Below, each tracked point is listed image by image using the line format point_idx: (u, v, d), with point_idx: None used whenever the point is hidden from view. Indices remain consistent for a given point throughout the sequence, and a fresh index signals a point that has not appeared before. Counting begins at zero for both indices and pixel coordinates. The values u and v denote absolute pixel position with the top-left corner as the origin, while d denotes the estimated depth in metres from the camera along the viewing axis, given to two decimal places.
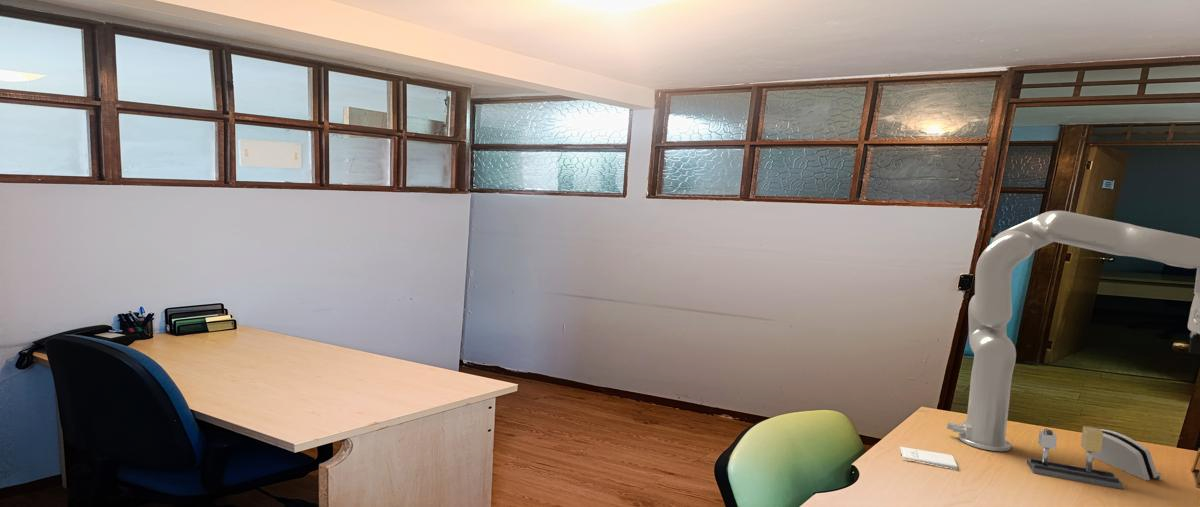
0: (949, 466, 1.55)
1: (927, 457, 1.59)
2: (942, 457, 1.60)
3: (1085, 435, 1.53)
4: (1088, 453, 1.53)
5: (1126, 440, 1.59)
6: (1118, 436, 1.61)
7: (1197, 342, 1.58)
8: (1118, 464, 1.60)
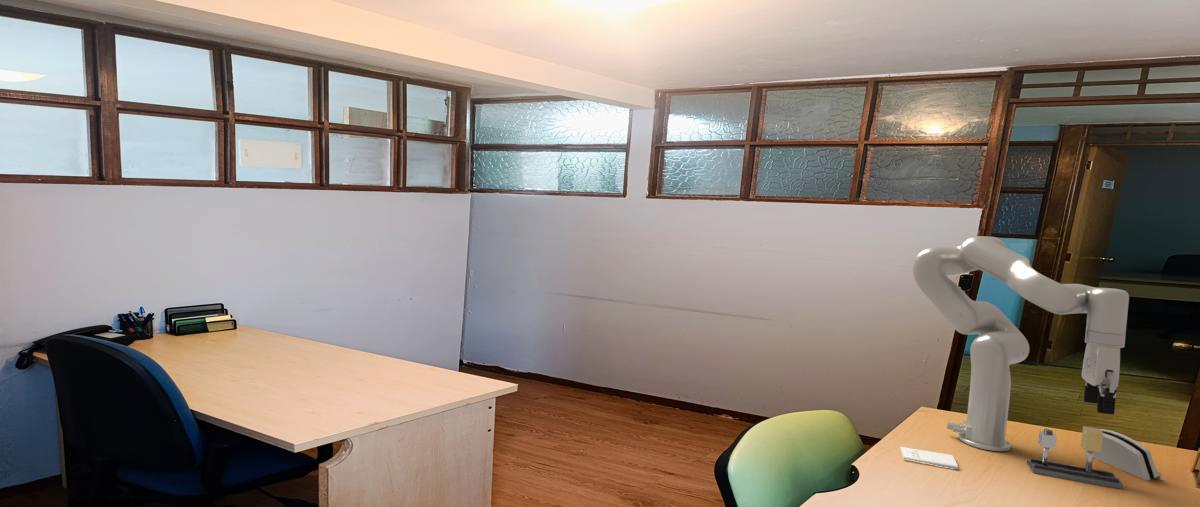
0: (950, 466, 1.55)
1: (927, 457, 1.59)
2: (942, 457, 1.59)
3: (1085, 435, 1.53)
4: (1088, 453, 1.53)
5: (1126, 440, 1.59)
6: (1118, 436, 1.61)
7: (1091, 391, 1.56)
8: (1119, 464, 1.60)
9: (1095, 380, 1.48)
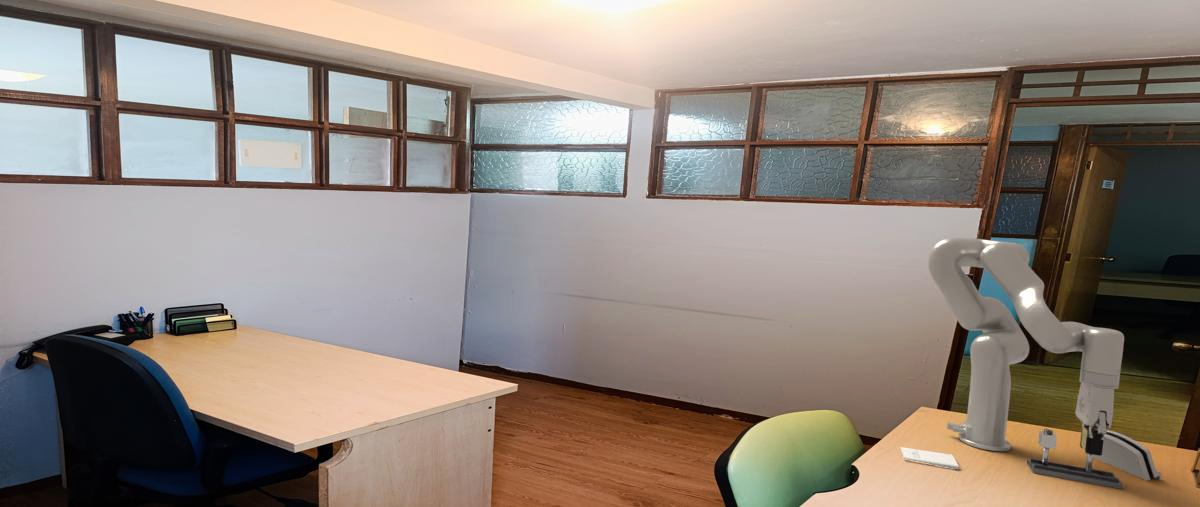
0: (950, 466, 1.55)
1: (928, 458, 1.59)
2: (942, 457, 1.59)
3: (1085, 435, 1.53)
4: None
5: (1126, 440, 1.59)
6: (1118, 436, 1.61)
7: None
8: (1118, 464, 1.60)
9: (1089, 420, 1.49)
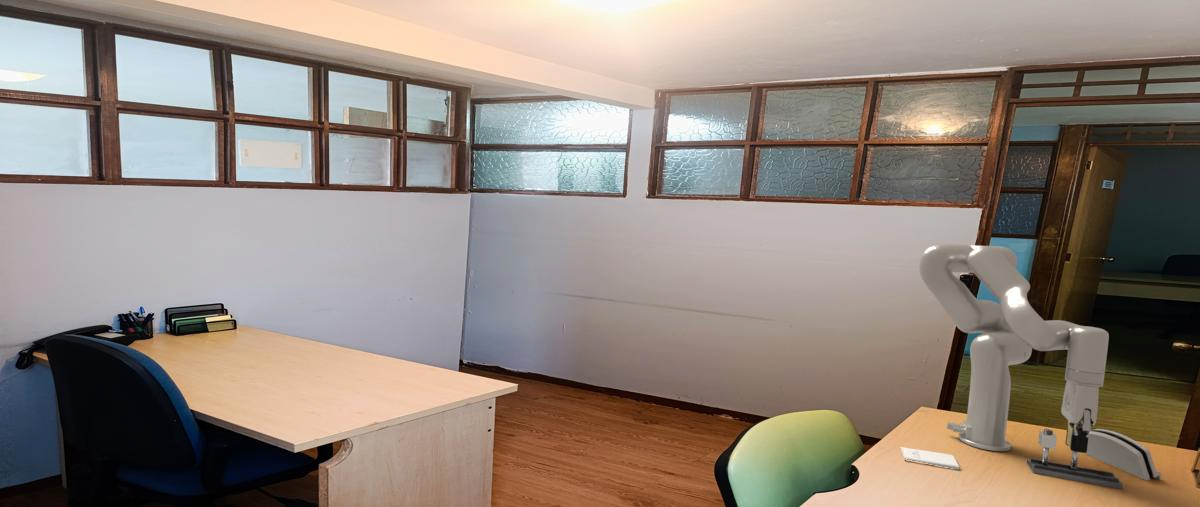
0: (951, 466, 1.55)
1: (928, 458, 1.58)
2: (942, 457, 1.59)
3: (1070, 433, 1.54)
4: (1073, 451, 1.54)
5: (1126, 440, 1.59)
6: (1118, 436, 1.61)
7: None
8: (1118, 464, 1.60)
9: (1073, 418, 1.50)
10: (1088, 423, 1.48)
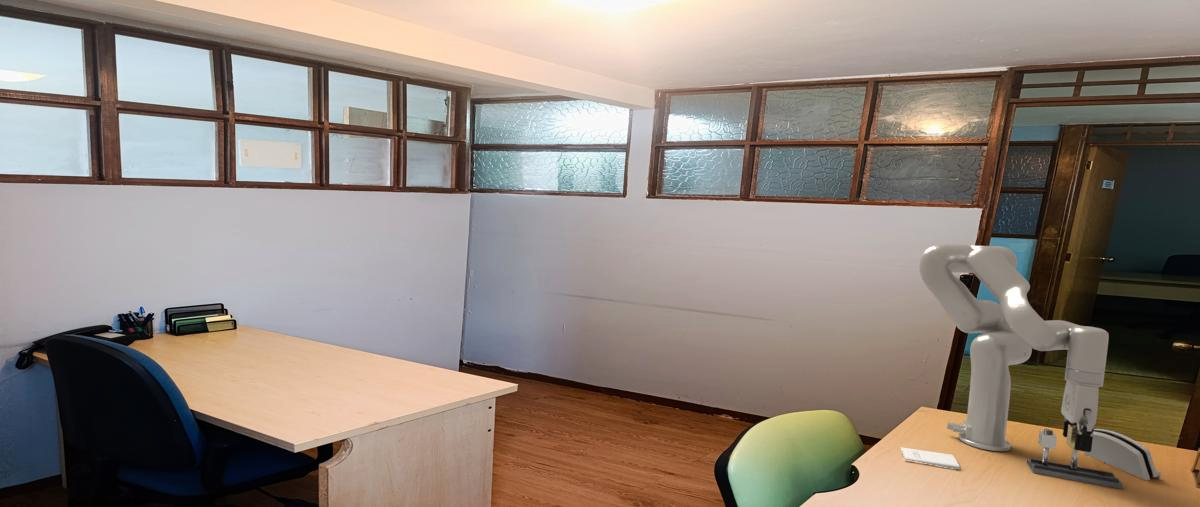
0: (951, 466, 1.55)
1: (928, 458, 1.58)
2: (943, 457, 1.59)
3: (1070, 433, 1.54)
4: (1073, 451, 1.54)
5: (1126, 440, 1.59)
6: (1117, 436, 1.61)
7: None
8: (1118, 464, 1.60)
9: (1073, 418, 1.50)
10: (1089, 413, 1.48)
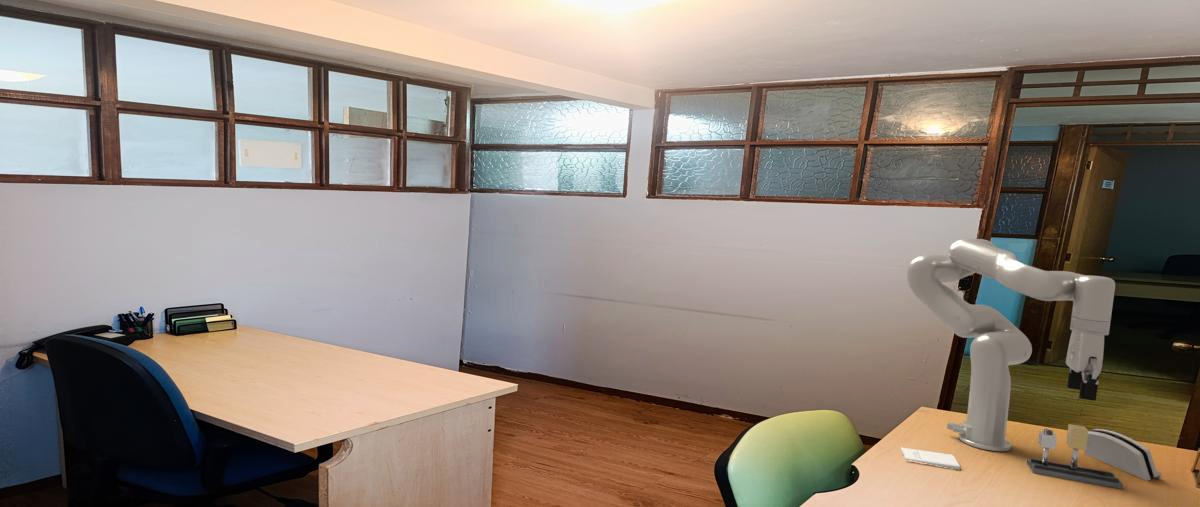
0: (952, 466, 1.55)
1: (929, 458, 1.58)
2: (943, 457, 1.59)
3: (1070, 433, 1.54)
4: (1073, 451, 1.54)
5: (1126, 440, 1.59)
6: (1118, 436, 1.61)
7: (1075, 377, 1.57)
8: (1118, 464, 1.60)
9: (1078, 366, 1.49)
10: (1095, 361, 1.47)
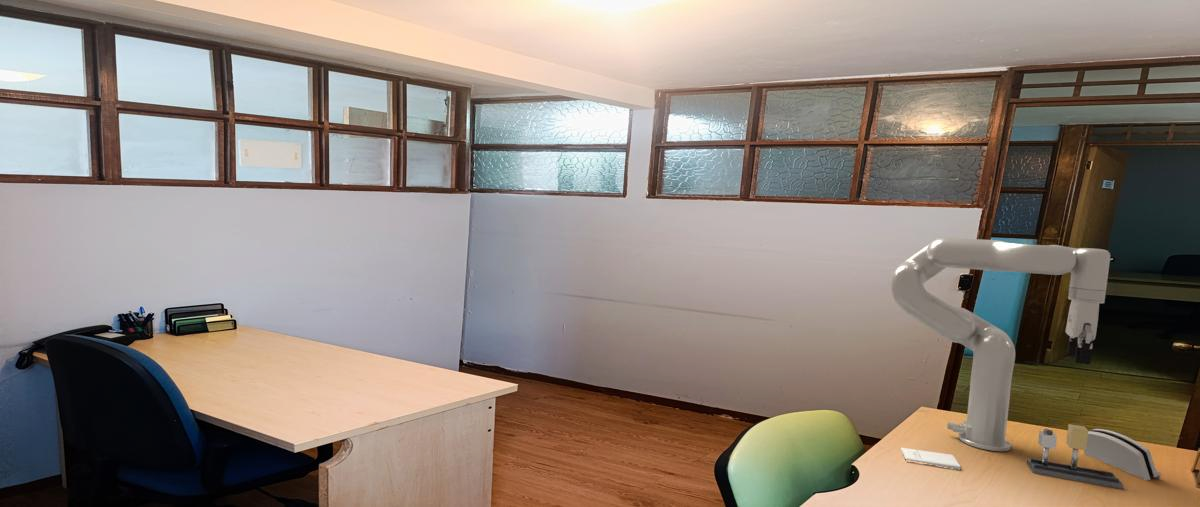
0: (952, 466, 1.55)
1: (929, 458, 1.58)
2: (943, 457, 1.59)
3: (1070, 433, 1.54)
4: (1073, 451, 1.54)
5: (1126, 440, 1.59)
6: (1118, 436, 1.61)
7: (1074, 345, 1.67)
8: (1118, 464, 1.60)
9: (1074, 332, 1.59)
10: (1089, 327, 1.57)
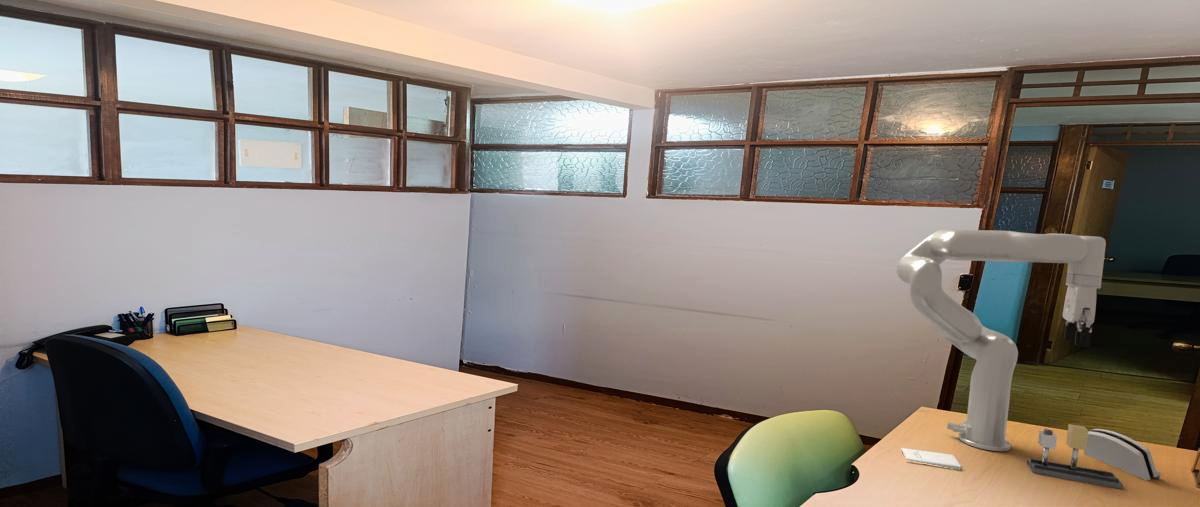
0: (953, 466, 1.55)
1: (929, 458, 1.58)
2: (943, 457, 1.59)
3: (1070, 433, 1.54)
4: (1073, 451, 1.54)
5: (1126, 440, 1.59)
6: (1118, 436, 1.61)
7: (1071, 329, 1.73)
8: (1118, 464, 1.60)
9: (1074, 317, 1.65)
10: (1088, 311, 1.63)
